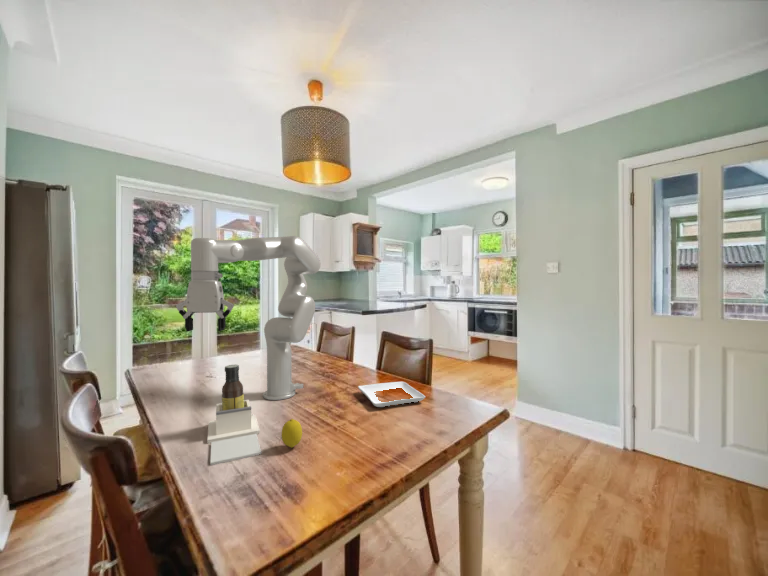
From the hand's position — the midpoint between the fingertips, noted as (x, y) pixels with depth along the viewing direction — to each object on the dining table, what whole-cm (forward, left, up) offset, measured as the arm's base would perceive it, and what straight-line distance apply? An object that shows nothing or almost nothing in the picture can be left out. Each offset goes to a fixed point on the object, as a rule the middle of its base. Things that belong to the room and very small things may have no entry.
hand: (205, 330), depth 106 cm
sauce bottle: (-8, +8, -31) cm, 32 cm away
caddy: (-8, +8, -30) cm, 32 cm away
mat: (-8, +22, -30) cm, 38 cm away
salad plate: (-65, +5, -31) cm, 72 cm away
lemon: (-22, +28, -31) cm, 47 cm away
